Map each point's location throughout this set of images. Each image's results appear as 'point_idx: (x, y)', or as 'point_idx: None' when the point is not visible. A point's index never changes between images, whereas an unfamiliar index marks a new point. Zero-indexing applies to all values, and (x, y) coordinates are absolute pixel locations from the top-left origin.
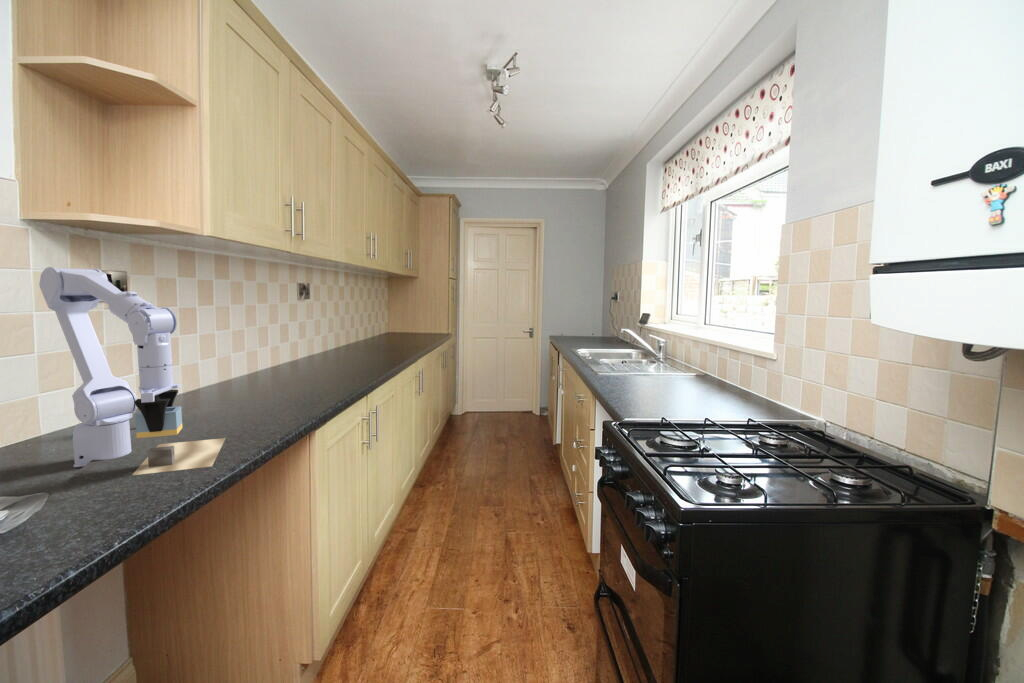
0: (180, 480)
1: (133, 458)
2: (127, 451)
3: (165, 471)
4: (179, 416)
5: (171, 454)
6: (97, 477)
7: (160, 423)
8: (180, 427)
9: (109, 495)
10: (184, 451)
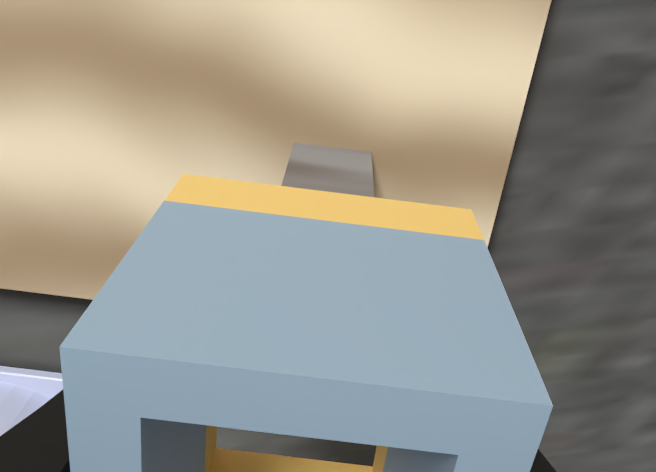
0: (623, 76)
1: (35, 357)
2: (17, 412)
3: (502, 182)
4: (287, 282)
5: (370, 183)
6: (303, 457)
7: None
8: (282, 200)
9: (621, 386)
10: (73, 94)
